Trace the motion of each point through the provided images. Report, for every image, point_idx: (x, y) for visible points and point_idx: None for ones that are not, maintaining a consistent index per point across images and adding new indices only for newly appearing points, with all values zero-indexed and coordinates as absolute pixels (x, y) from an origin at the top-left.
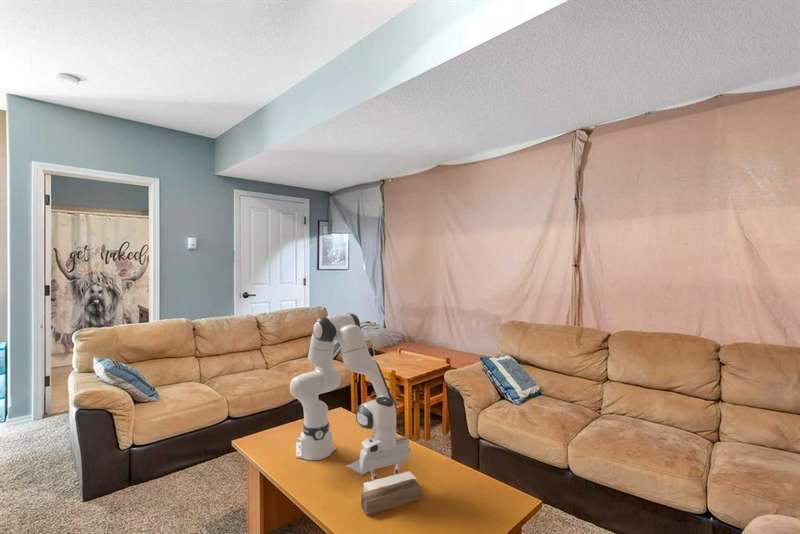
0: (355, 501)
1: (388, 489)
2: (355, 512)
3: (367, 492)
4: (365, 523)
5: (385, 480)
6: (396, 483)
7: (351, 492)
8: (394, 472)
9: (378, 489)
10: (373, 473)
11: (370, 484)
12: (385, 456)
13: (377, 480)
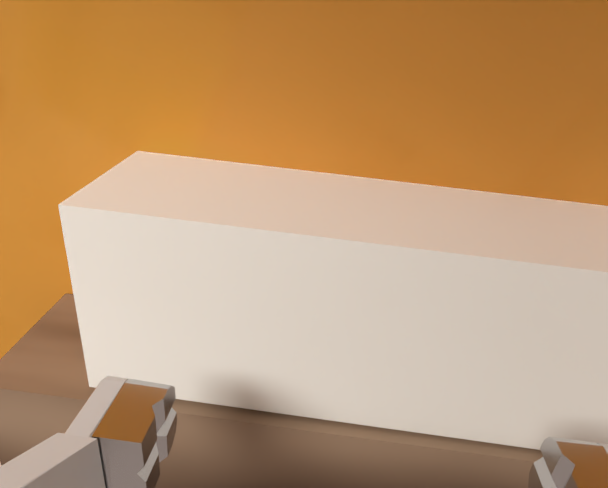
0: (29, 202)
1: (300, 485)
2: (7, 329)
3: (52, 413)
4: None
5: (388, 314)
6: (458, 455)
7: (6, 14)
8: (548, 468)
9: (194, 434)
10: (112, 437)
11: (146, 285)
12: None
13: (282, 254)
